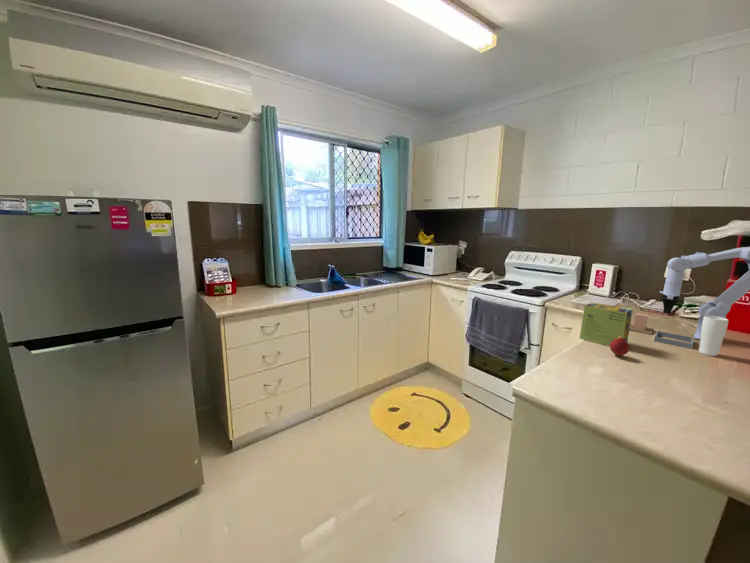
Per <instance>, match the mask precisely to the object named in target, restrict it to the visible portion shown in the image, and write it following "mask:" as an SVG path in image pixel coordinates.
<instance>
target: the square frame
mask: <svg viewBox="0 0 750 563" xmlns="http://www.w3.org/2000/svg"><path fill="white" fill-rule="evenodd" d="M659 336H660V337H659ZM664 337H665V338H664ZM679 340H680V341H679ZM653 342H658V343H662V344H666V345H667V344H668V345H671V346H676V347H681V348H686V349H693V347H694V336H693V337H692V336H689V335H682V334H677V333H671V332H666V331H662V330H657V331H656V332H655V336H654V340H653ZM689 342H690V343H689Z"/></svg>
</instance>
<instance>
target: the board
mask: <svg viewBox="0 0 750 563" xmlns="http://www.w3.org/2000/svg"><path fill="white" fill-rule="evenodd" d="M633 326H634V324H631V323H630V329H629V332H636V333H641V334H647V335H651V336H652V335H653V333H654V330H655V328H654V327H647V326H646V329H645V330H640V329H635V328H633Z"/></svg>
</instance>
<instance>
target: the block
mask: <svg viewBox="0 0 750 563" xmlns="http://www.w3.org/2000/svg"><path fill="white" fill-rule="evenodd" d="M648 318H649V314H647V313H642V312H636V313H635V316H634V320H633V325H634V326H633V328H635V329H640V330H645V329H646V327H647V323H648Z"/></svg>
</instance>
